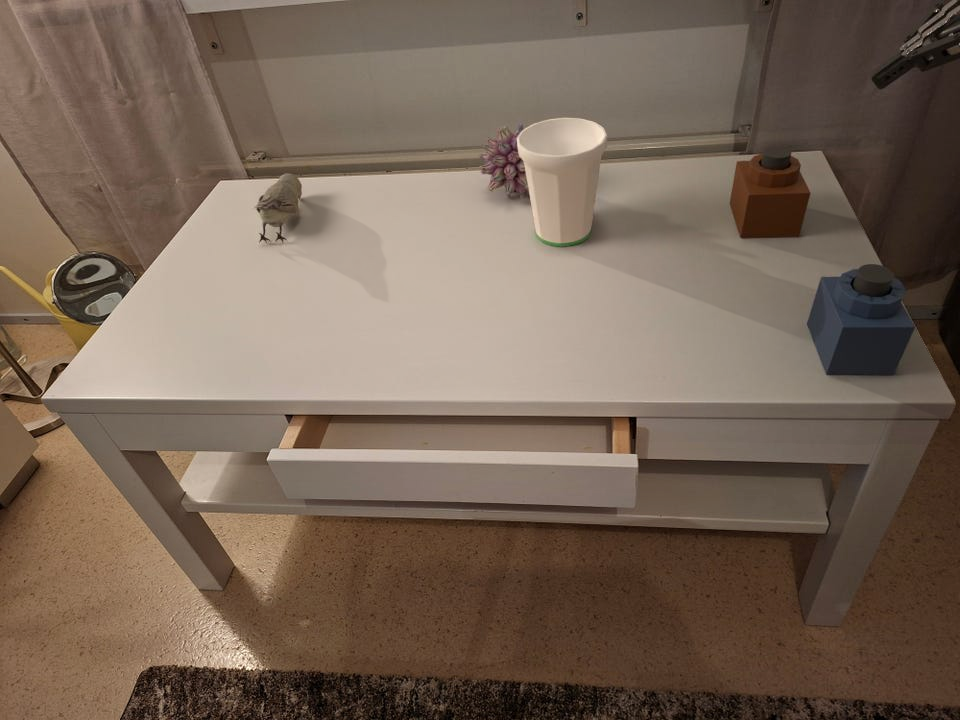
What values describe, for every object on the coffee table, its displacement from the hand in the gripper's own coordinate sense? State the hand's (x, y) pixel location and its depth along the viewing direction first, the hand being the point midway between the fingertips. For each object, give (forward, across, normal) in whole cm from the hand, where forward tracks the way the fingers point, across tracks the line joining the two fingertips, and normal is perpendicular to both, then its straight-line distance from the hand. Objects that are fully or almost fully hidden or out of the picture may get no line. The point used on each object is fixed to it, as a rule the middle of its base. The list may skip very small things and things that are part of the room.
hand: (874, 82), depth 81 cm
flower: (+49, -4, -20) cm, 53 cm away
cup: (+41, +7, -12) cm, 44 cm away
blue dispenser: (+14, +27, +14) cm, 34 cm away
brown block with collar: (+21, 0, +8) cm, 22 cm away
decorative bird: (+75, +10, -46) cm, 88 cm away
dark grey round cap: (+8, +27, +8) cm, 30 cm away
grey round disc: (+15, 0, +2) cm, 15 cm away
